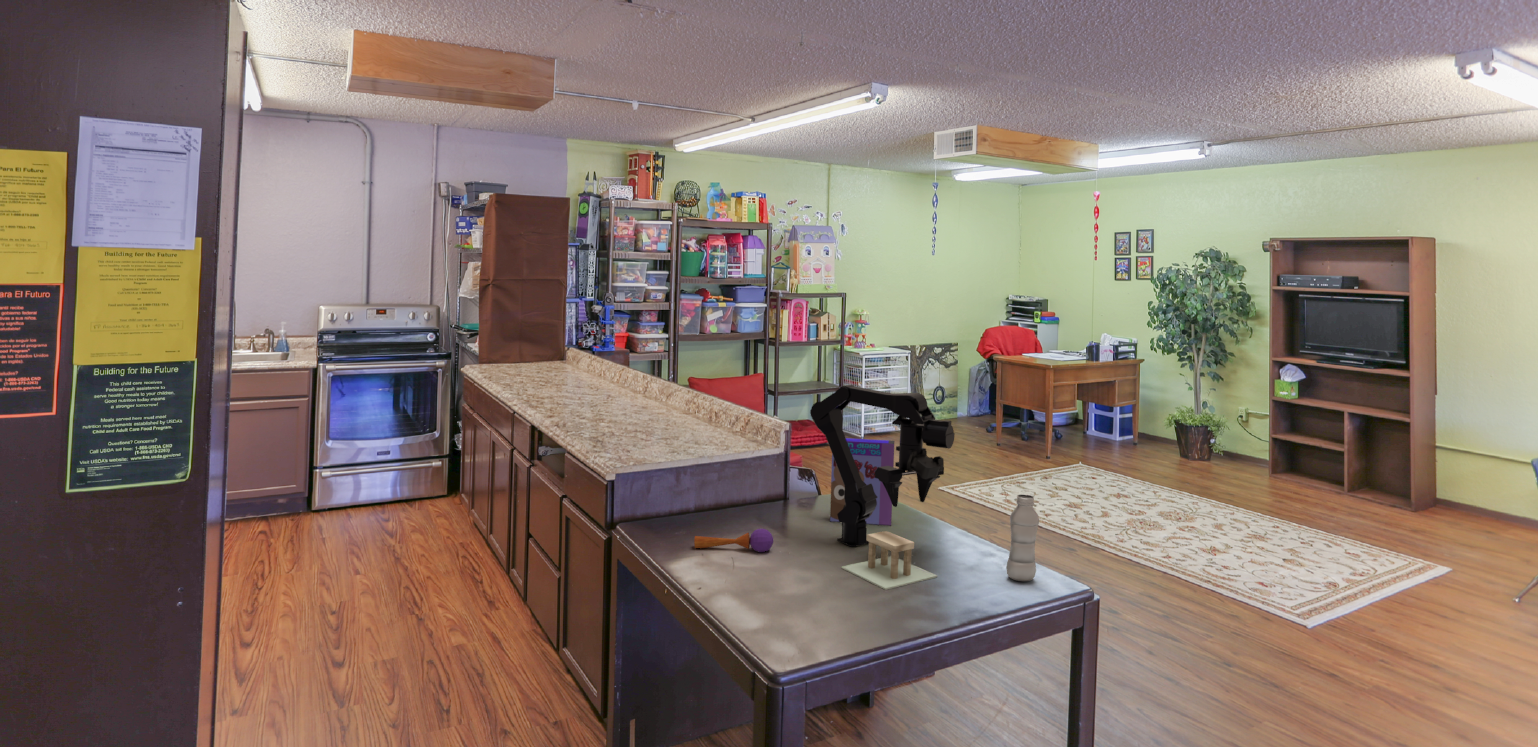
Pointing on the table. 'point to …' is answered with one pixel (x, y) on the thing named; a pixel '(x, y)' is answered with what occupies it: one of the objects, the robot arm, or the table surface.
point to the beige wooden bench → (895, 546)
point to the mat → (888, 574)
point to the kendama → (739, 541)
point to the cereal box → (865, 478)
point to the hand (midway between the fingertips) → (908, 504)
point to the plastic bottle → (1023, 540)
